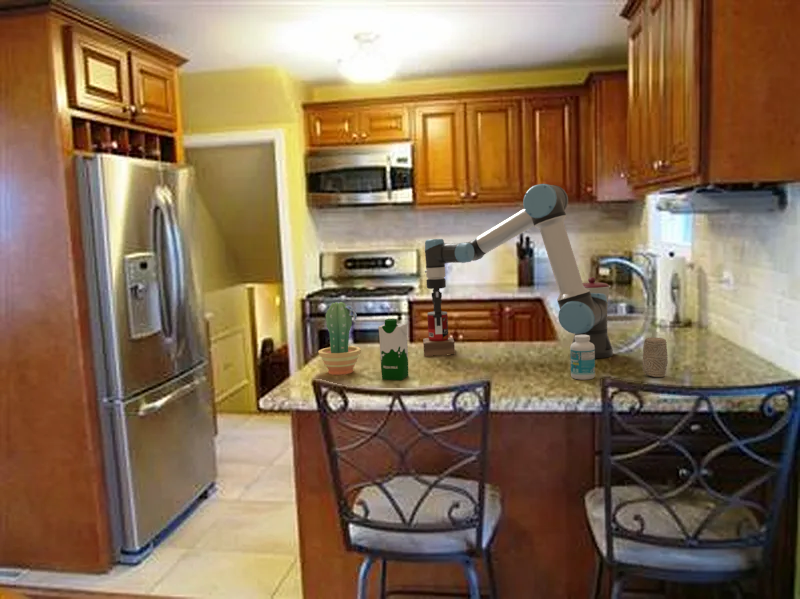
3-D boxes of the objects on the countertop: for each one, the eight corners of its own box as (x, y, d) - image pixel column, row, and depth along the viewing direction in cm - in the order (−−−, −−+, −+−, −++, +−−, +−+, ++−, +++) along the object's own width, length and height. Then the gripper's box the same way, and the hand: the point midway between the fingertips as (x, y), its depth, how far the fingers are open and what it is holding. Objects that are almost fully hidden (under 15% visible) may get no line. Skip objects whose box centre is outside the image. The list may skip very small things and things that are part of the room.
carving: (671, 377, 205) (671, 339, 204) (648, 379, 205) (647, 340, 203) (662, 373, 212) (661, 336, 210) (639, 374, 211) (638, 337, 210)
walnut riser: (454, 354, 259) (454, 341, 258) (424, 356, 259) (423, 343, 258) (453, 349, 271) (452, 336, 270) (423, 350, 271) (423, 338, 270)
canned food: (447, 341, 260) (446, 313, 258) (427, 341, 261) (425, 314, 260) (449, 338, 267) (448, 311, 266) (430, 338, 269) (428, 311, 268)
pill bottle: (567, 376, 214) (566, 334, 213) (590, 374, 215) (589, 333, 213) (575, 381, 207) (574, 338, 205) (598, 379, 207) (598, 336, 206)
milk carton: (378, 380, 221) (375, 320, 219) (387, 374, 229) (385, 317, 227) (403, 381, 218) (400, 320, 216) (412, 375, 226) (409, 317, 224)
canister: (609, 320, 328) (609, 278, 326) (572, 320, 335) (571, 279, 333) (612, 315, 345) (611, 275, 343) (576, 315, 352) (575, 276, 349)
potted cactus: (345, 378, 226) (341, 305, 224) (310, 374, 235) (305, 304, 232) (370, 369, 239) (367, 300, 237) (336, 366, 248) (332, 299, 245)
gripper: (425, 276, 274) (428, 327, 276) (426, 281, 249) (429, 336, 251) (444, 275, 274) (446, 326, 276) (446, 280, 249) (449, 335, 251)
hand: (438, 331), depth 264 cm, fingers open, 13 cm apart
